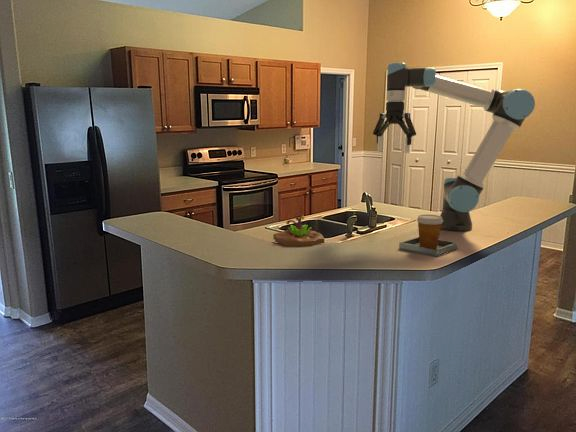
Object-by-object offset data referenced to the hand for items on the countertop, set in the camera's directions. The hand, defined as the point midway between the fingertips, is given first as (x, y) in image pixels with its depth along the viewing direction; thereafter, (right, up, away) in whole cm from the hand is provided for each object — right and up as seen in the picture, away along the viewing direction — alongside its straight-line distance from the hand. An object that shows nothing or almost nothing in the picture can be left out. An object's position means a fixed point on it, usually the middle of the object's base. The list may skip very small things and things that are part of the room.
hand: (393, 152), depth 206 cm
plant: (-41, -38, -9) cm, 56 cm away
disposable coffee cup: (+8, -40, -23) cm, 47 cm away
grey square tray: (+8, -40, -23) cm, 47 cm away
